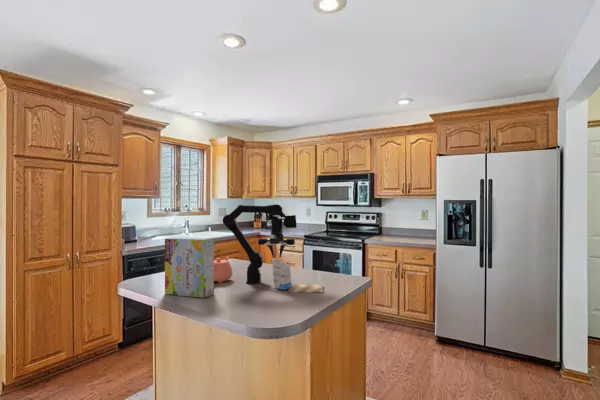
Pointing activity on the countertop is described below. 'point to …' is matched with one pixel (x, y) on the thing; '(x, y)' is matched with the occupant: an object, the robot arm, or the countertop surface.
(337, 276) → the countertop surface
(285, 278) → the ink box
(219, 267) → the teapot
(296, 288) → the cork trivet
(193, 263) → the snack box
